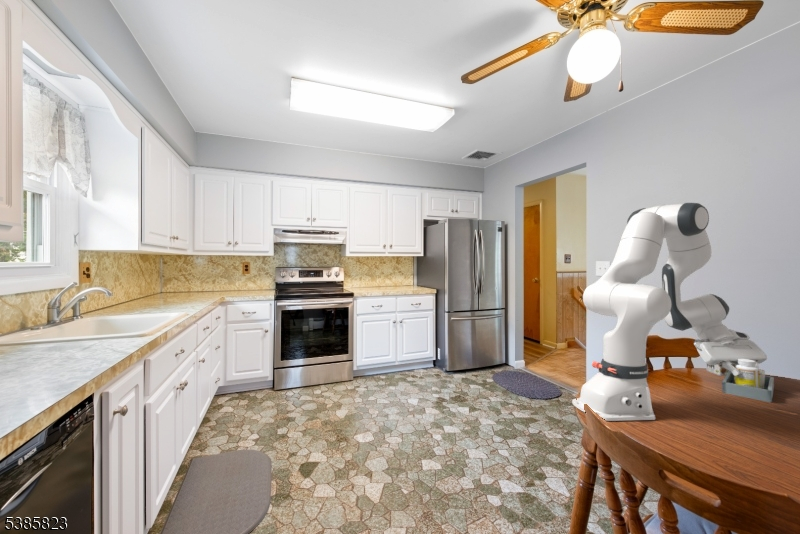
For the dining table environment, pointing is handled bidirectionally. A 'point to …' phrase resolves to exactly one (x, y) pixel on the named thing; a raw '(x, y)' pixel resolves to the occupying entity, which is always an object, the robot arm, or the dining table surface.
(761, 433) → the dining table surface
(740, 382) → the supplement bottle
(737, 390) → the tray
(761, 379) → the off-white plain cube block
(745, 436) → the dining table surface
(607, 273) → the robot arm
